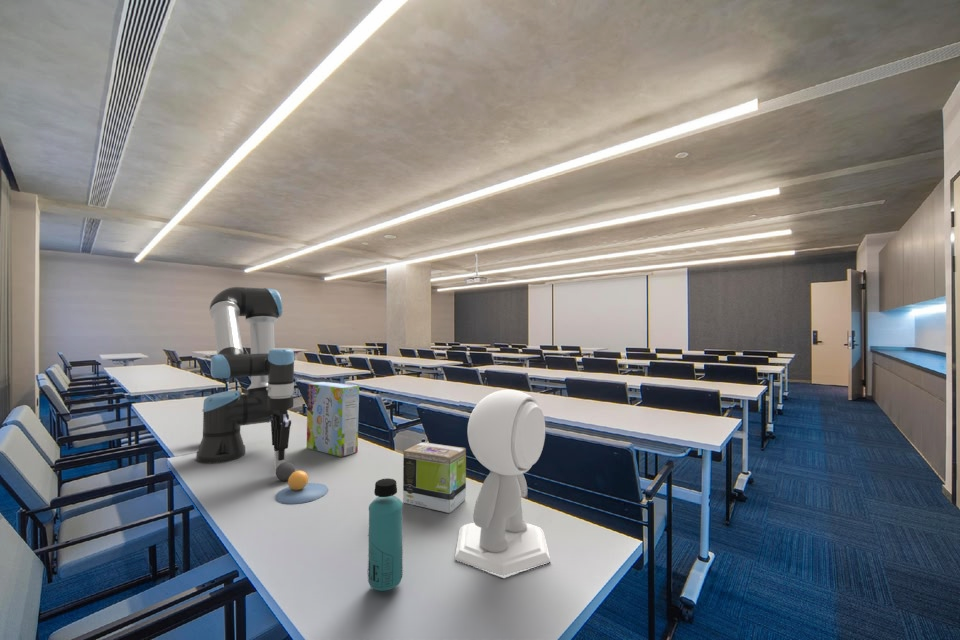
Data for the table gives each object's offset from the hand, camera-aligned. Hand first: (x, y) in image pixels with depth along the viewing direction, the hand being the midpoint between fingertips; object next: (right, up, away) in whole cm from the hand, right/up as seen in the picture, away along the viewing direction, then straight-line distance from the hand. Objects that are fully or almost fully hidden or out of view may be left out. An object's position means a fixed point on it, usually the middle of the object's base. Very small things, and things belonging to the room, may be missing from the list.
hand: (279, 469), depth 129 cm
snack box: (+7, -3, +26) cm, 27 cm away
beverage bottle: (+47, -2, -55) cm, 72 cm away
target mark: (+13, -2, -14) cm, 19 cm away
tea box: (+52, -3, -18) cm, 55 cm away
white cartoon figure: (+70, -2, -40) cm, 81 cm away
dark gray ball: (+4, +1, -4) cm, 6 cm away
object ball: (+11, +1, -11) cm, 16 cm away
